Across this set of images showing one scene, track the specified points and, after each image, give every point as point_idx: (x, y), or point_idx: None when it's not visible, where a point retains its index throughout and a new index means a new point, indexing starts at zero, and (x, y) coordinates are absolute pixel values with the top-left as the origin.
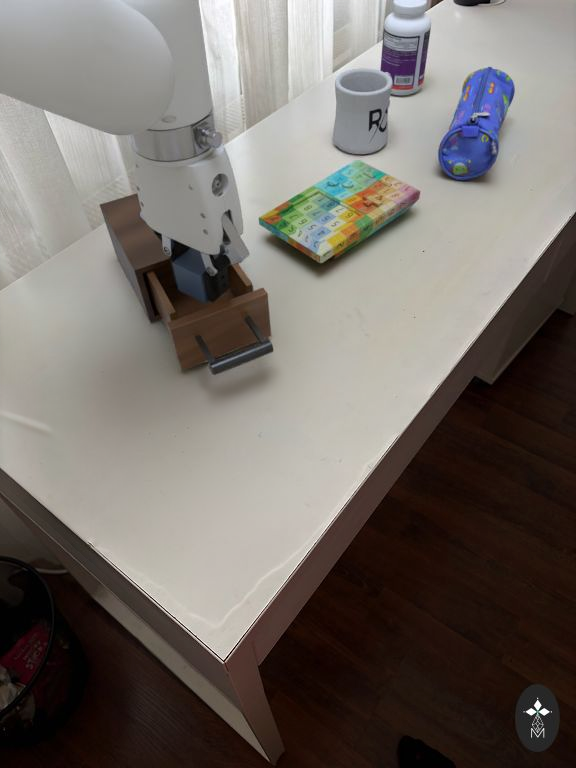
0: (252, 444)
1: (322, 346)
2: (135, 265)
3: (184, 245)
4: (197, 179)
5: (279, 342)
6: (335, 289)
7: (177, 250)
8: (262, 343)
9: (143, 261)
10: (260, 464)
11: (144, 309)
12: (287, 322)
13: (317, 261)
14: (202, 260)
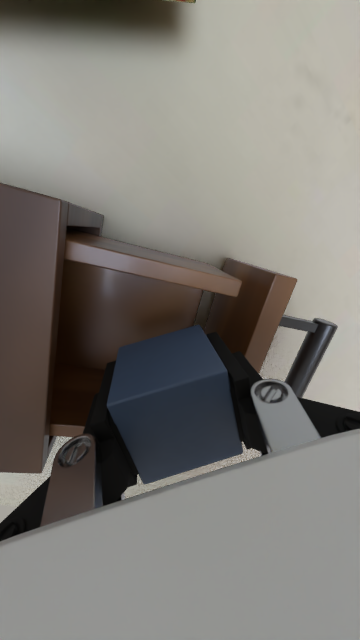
0: (320, 370)
1: (302, 204)
2: (25, 468)
3: (116, 461)
4: None
5: (246, 252)
6: (232, 47)
7: (125, 483)
8: (326, 338)
9: (21, 452)
10: (340, 376)
11: None
12: (225, 209)
13: (187, 1)
14: (198, 427)
